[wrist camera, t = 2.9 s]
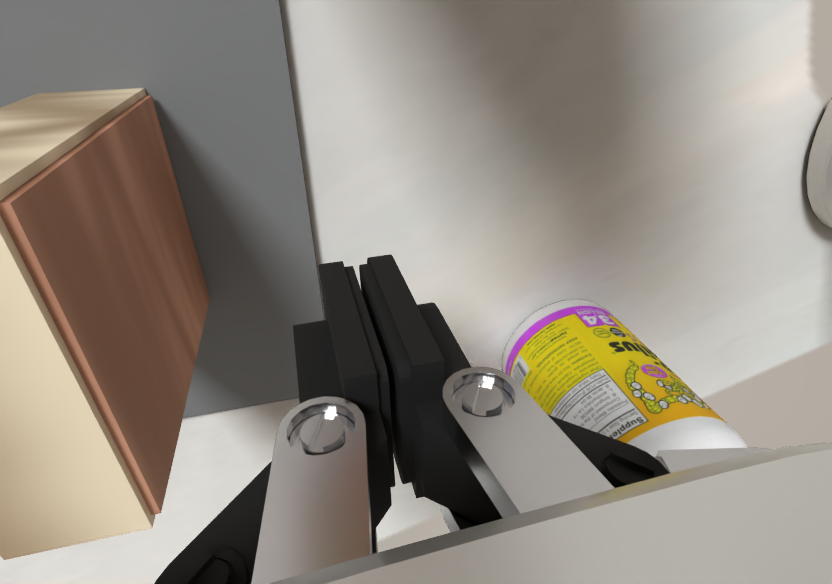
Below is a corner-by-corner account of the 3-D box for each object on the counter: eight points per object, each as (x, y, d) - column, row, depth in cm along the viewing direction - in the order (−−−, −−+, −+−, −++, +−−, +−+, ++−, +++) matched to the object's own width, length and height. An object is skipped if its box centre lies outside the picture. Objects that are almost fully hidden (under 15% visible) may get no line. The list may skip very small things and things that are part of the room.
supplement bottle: (630, 334, 27) (857, 552, 16) (541, 408, 29) (698, 652, 18) (569, 269, 24) (807, 491, 13) (472, 357, 25) (614, 621, 14)
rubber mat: (256, -158, 13) (255, -163, 13) (333, 384, 24) (334, 391, 23) (-802, -202, 9) (-852, -211, 9) (-151, 468, 20) (-160, 478, 19)
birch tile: (151, 87, 15) (-3, 194, 7) (211, 300, 19) (161, 525, 11) (37, 93, 15) (-282, 218, 6) (125, 311, 19) (4, 559, 10)
